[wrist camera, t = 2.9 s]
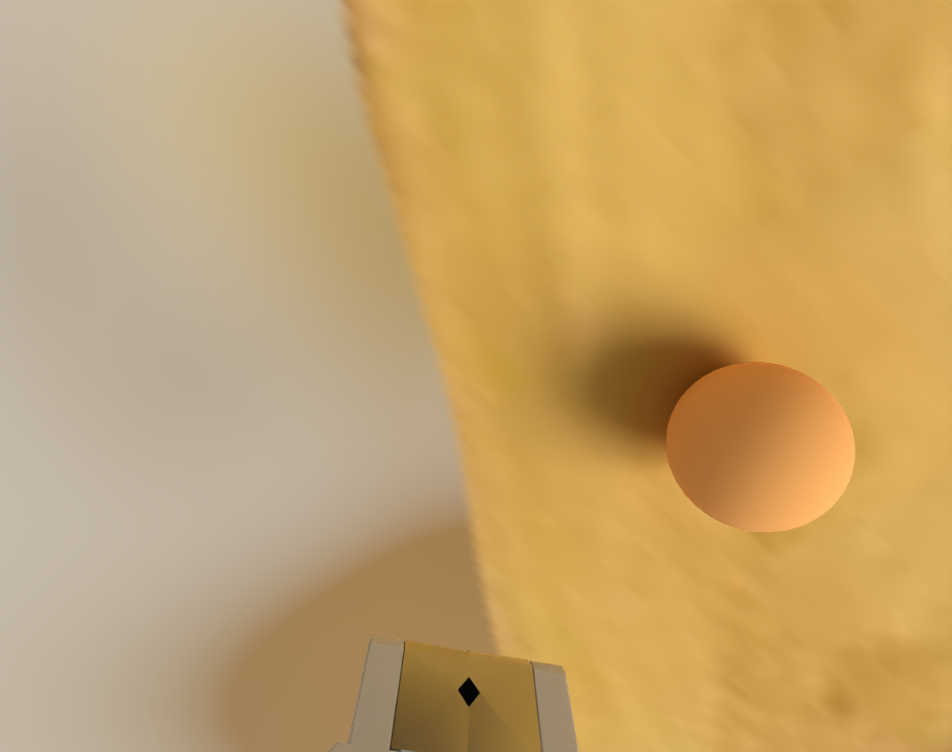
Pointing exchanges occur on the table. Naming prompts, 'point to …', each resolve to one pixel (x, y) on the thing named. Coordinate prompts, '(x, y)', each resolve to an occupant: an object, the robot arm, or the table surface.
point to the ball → (760, 447)
